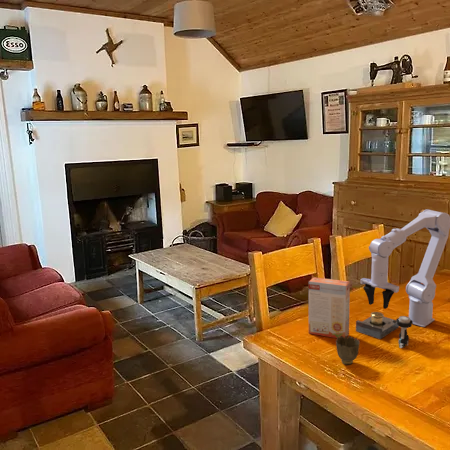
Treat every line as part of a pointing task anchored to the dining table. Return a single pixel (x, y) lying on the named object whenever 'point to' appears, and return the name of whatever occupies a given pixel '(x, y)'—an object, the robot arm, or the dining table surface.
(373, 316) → the brass door knob
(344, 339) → the cup
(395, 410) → the dining table surface
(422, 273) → the robot arm
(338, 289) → the cracker box
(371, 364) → the dining table surface
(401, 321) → the push button
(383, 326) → the jig
